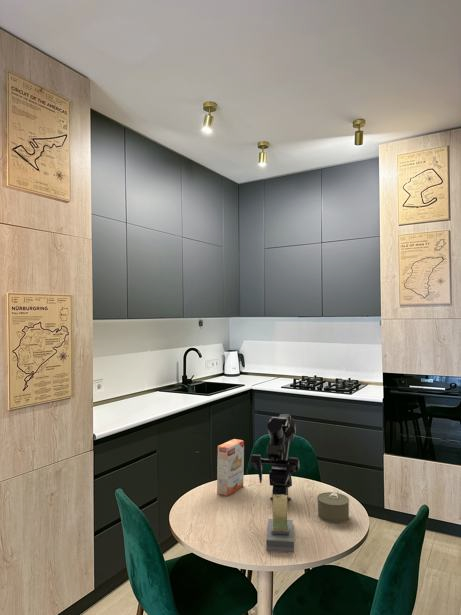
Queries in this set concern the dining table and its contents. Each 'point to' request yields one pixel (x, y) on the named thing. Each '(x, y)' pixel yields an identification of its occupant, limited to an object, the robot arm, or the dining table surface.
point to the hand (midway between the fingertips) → (272, 483)
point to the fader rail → (280, 539)
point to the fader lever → (280, 515)
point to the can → (333, 507)
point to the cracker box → (230, 467)
